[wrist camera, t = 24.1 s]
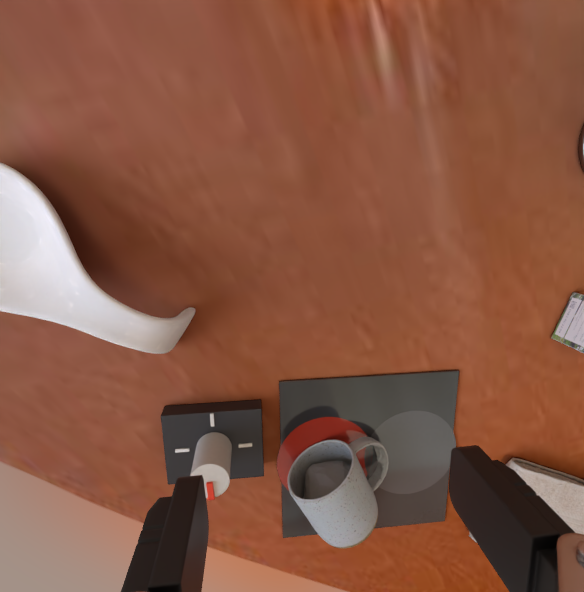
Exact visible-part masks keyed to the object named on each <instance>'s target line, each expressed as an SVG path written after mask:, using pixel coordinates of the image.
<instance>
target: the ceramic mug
mask: <svg viewBox="0 0 584 592" xmlns="http://www.w3.org/2000/svg"><path fill="white" fill-rule="evenodd" d="M370 445H373V446H374V449H375V451H376V455H377V460H378V464H377V467H376V469H375V471H374V473H373V474H372V476H371V477H370V478H369V480H367V478H366V476H365V474H364V471H363V469H362V467H361V465H360V463H359V460H358V458H357V456H356V453H357V452H358V451H359V450H361V449H363V448H365V447H367V446H370ZM388 464H389V462H388V454H387V452H386V449H385V447H384V446H383V445H382V443H380V442H378V441H377V440H375V439H373V438H371V437H361V438H358V439H356V440H354V441H353V442H351V443H349V444H347V443H345V442H343V441H341V440H325V441H321V442H319V443H316V444H314V445H312V446H310V447H309V448H307V449H306V450H304V451H303V452H302V453H301V454H300V455H299V456H298V457H297V458H296V460H295V461H294V462H293V464H292V466H291V468H290V471H289V474H288V489H289V492H290V494H291V496H292V497H293V499H294V500H295V501H296V503H297V504H298V506H299V507H300V509H301V510H302V512H303V513H304V515H305V516H306V517H307V519H308V520H309V522H310V523H311V525H312V526H313V528H314V529H315V531H316V532H317V533H318V535H319V536H320V537H321V538H322V539H323V540H325V541H326V542H327V543H328V544H330V545H332V546H333V547H337V548H349V547H353V546H356V545H358V544H360V543H362V542H363V541H364V540H365V539H366V538H367V537H368V536H369V535H370V534H371V533H372V531H373V529H374V527H375V525H376V523H377V519H378V507H377V502H376V498H375V495H374V491H375V490H376V489H377V488H378V487H379V485H380V484H381V483H382V481H383V480H384V478H385V476H386V474H387V470H388Z"/></svg>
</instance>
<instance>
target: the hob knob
mask: <svg viewBox="0 0 584 592" xmlns="http://www.w3.org/2000/svg"><path fill="white" fill-rule="evenodd" d="M231 452H232V445H231V442H230V440H229V438H228V437H227V436H225V435H224V434H221V433H217V432H212V433H208V434H205V435H204V436H202V437H201V438H200V439H199V441H198V443H197V446H196V450H195V455H194V460H193V465H192V470H191V474H190V476H196V475H202V476H203V479H204V487H205V495H206V498H208V500H214V499H215V497H217V496H219V495H221V494H222V493H224V492H225V491H226V489H227V488H228V486H229V482H230V468H231Z"/></svg>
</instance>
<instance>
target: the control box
mask: <svg viewBox="0 0 584 592" xmlns="http://www.w3.org/2000/svg"><path fill="white" fill-rule="evenodd" d="M161 422H162V432H163V441H164V451H165V460H166V470H167V479H168V484H176V480H177V478H179V477H187V476H190V474H191V470H192V465H193V460H194V455H195V450H196V446H197V443H198V441H199V439H200V438H201V437H202V436H204V435H205V434H208V433H212V432H217V433H221V434H224V435H225V436H227V437H228V438H229V440H230V442H231V445H232V452H231V468H230V479H236V478H248V477H259V476H264V464H263V437H262V409H261V400H246V401H231V402H217V403H202V404H187V405H172V406H165V407H164V410H163V412H162V415H161Z"/></svg>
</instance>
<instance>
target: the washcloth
mask: <svg viewBox="0 0 584 592" xmlns="http://www.w3.org/2000/svg"><path fill="white" fill-rule="evenodd" d="M506 466H508V467H510V468H511V469H513V470H514V471H515V472H516V473H517V474H518V475H519V476H520V477H521V478H522V479H523V480H524V481H525V482H526V484H527V485H529V486H530V487H531V488H532V489H533V490H534V491H535V492H536V494H537V496H538V495H539V496H540V497H541V498H542V499H543V500H544V501H545V502H546V503H547V504H548V505H549V506H550V507H551V508H552V509H553V510H554V511H555V512H556V513H557V514H558V515H559V516H560V517H561V518H562V519H563V520H564V521H565V523H566V524H567V525H568V526H569V527H570V528H571V529H572V530H573V531H574V532H575V533H579V534H584V480H583V479H580V478H577V477H575V476H572V475H569V474H566V473H563V472H560V471H557V470H553V469H550V468H547V467H543V466H541V465H538V464H535V463H532V462H529V461H525V460H522V459H518V458H511V460H510V461H508V463H507V464H506ZM469 532H470V531H469ZM469 536H470V537H471V538H472V539H473V540H474V541H475V542H476V540H475V539H474V537H473V536H472V534H471V533H470V535H469ZM476 543H477V542H476Z"/></svg>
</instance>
